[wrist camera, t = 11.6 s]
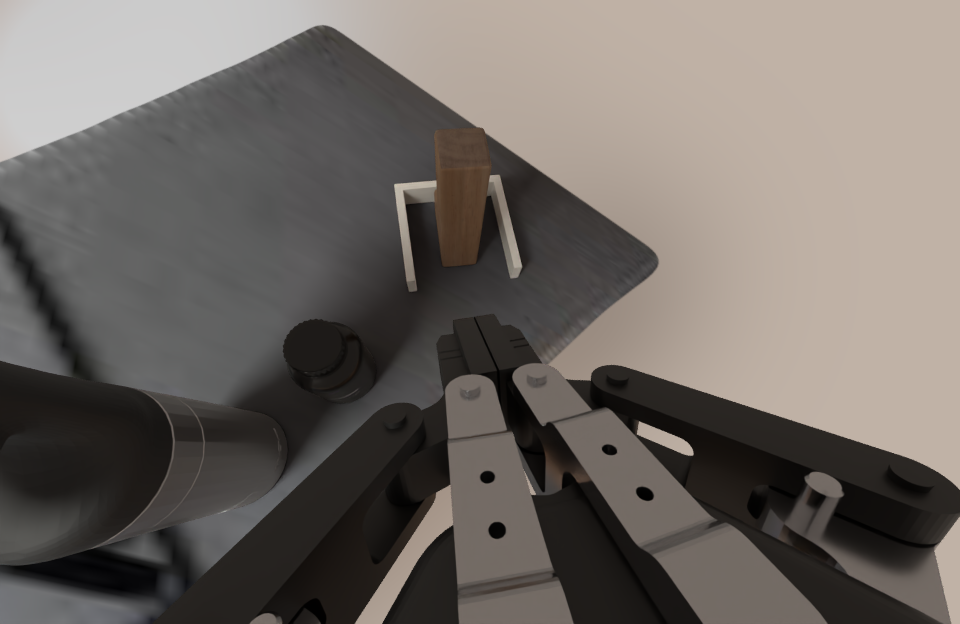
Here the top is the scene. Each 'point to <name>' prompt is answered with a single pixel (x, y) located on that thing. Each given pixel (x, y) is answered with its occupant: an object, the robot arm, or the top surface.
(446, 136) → the wooden block
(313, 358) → the supplement bottle
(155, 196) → the top surface
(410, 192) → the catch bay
